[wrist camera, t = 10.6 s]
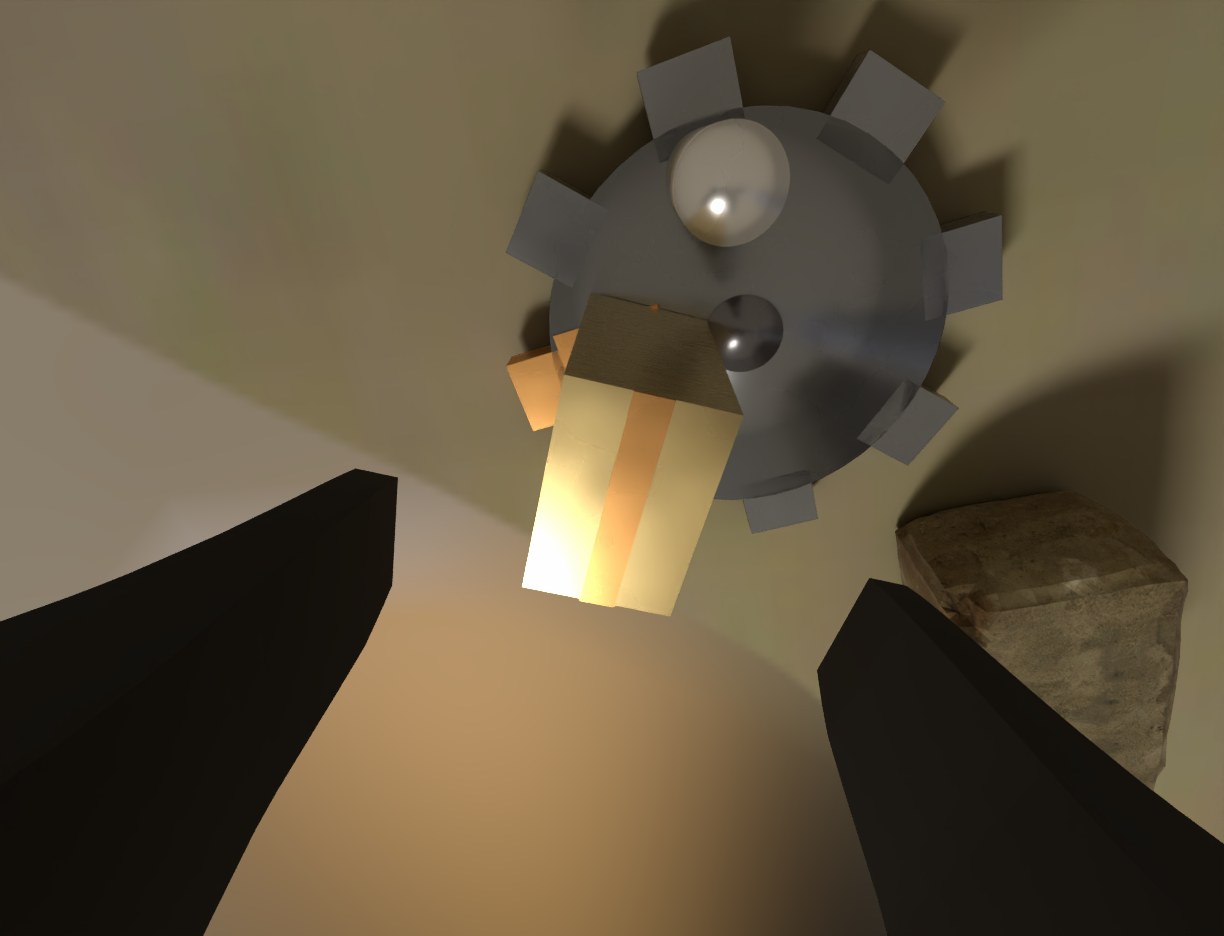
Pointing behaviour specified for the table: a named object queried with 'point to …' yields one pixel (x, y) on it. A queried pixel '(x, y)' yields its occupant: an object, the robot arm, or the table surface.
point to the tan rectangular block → (632, 457)
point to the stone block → (1062, 610)
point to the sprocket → (773, 266)
